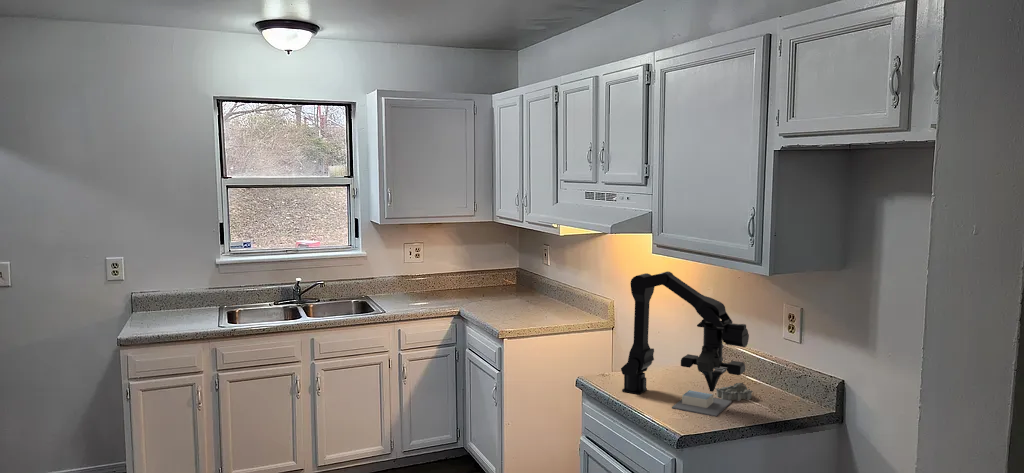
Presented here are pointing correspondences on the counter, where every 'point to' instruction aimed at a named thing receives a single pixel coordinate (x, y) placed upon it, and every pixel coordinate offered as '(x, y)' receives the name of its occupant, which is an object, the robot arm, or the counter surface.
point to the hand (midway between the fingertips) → (711, 391)
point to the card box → (697, 399)
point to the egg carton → (734, 392)
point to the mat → (712, 410)
